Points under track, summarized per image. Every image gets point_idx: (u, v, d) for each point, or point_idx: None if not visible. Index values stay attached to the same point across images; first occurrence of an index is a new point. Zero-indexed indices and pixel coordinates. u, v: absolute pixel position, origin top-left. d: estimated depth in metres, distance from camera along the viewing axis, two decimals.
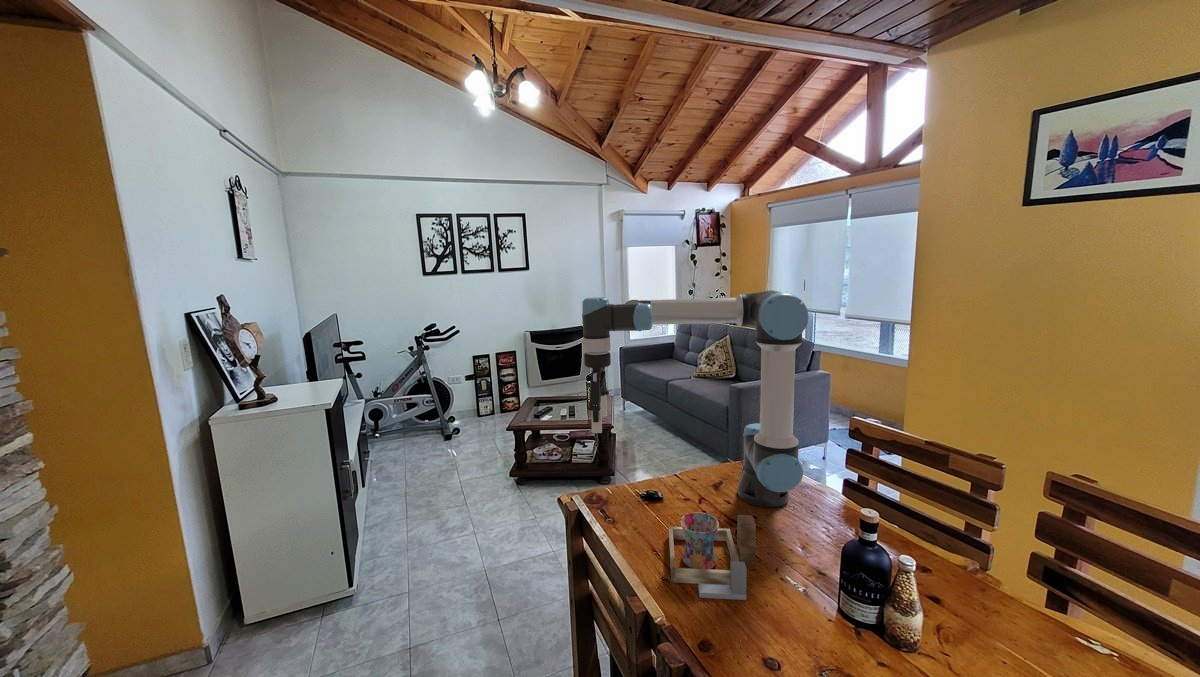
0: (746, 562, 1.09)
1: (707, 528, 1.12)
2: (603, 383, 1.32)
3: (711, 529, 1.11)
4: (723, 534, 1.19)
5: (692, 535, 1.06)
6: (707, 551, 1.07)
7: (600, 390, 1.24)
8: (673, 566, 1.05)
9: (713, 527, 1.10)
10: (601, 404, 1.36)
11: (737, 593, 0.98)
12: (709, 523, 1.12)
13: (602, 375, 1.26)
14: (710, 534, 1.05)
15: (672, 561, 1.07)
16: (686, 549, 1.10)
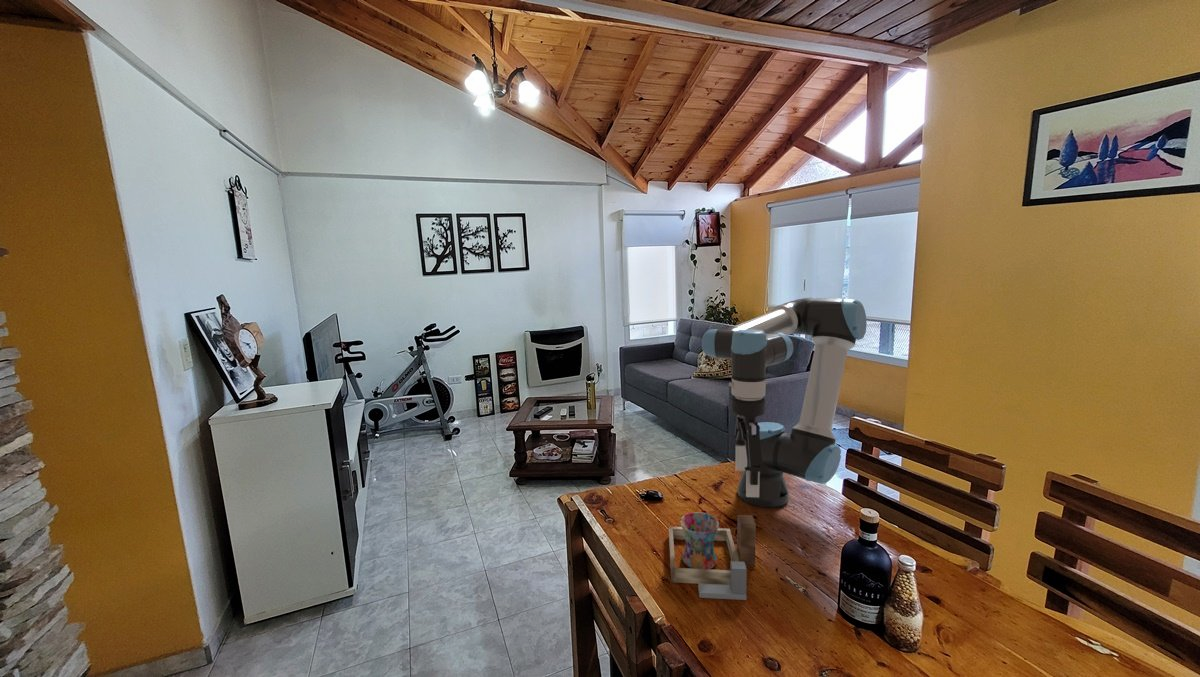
0: (746, 562, 1.09)
1: (707, 528, 1.12)
2: None
3: (711, 529, 1.11)
4: (723, 534, 1.19)
5: (692, 535, 1.06)
6: (707, 551, 1.07)
7: None
8: (673, 566, 1.05)
9: (713, 527, 1.10)
10: (741, 456, 1.13)
11: (737, 593, 0.98)
12: (709, 523, 1.12)
13: None
14: (710, 534, 1.05)
15: (672, 561, 1.07)
16: (686, 549, 1.10)
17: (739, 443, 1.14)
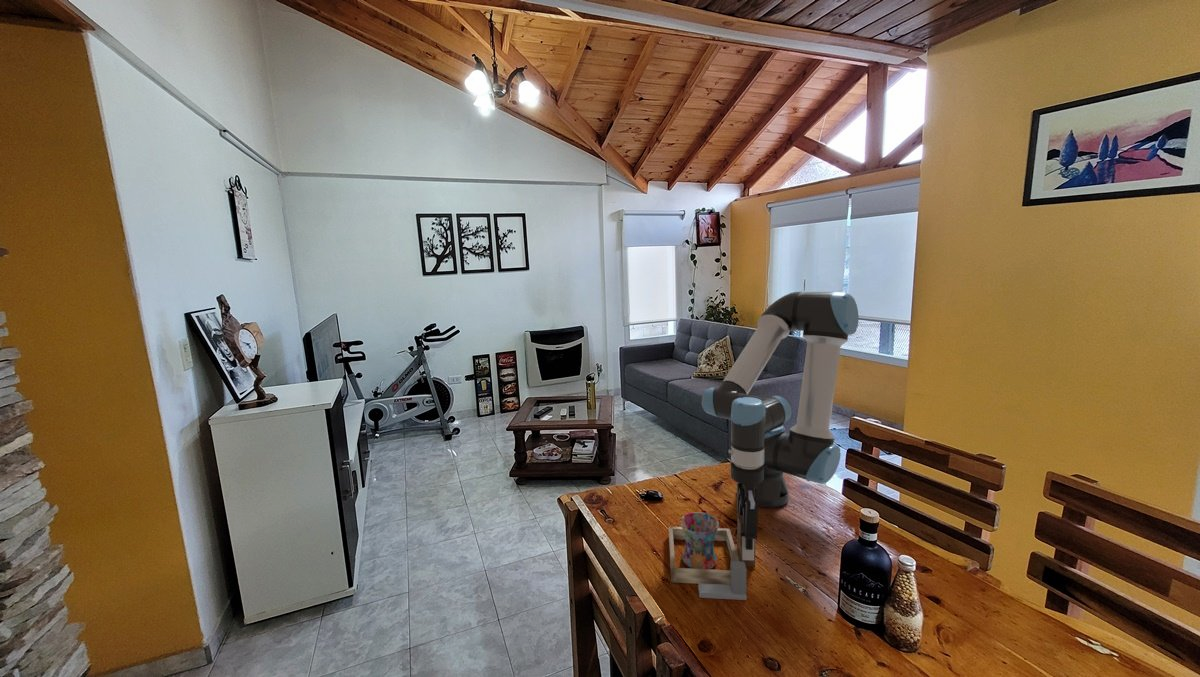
0: (746, 562, 1.09)
1: (707, 528, 1.12)
2: None
3: (711, 529, 1.11)
4: (723, 534, 1.19)
5: (692, 535, 1.06)
6: (707, 551, 1.07)
7: None
8: (673, 566, 1.05)
9: (713, 527, 1.10)
10: None
11: (737, 593, 0.98)
12: (709, 523, 1.12)
13: (754, 493, 1.06)
14: (710, 534, 1.05)
15: (672, 561, 1.07)
16: (686, 549, 1.10)
17: None
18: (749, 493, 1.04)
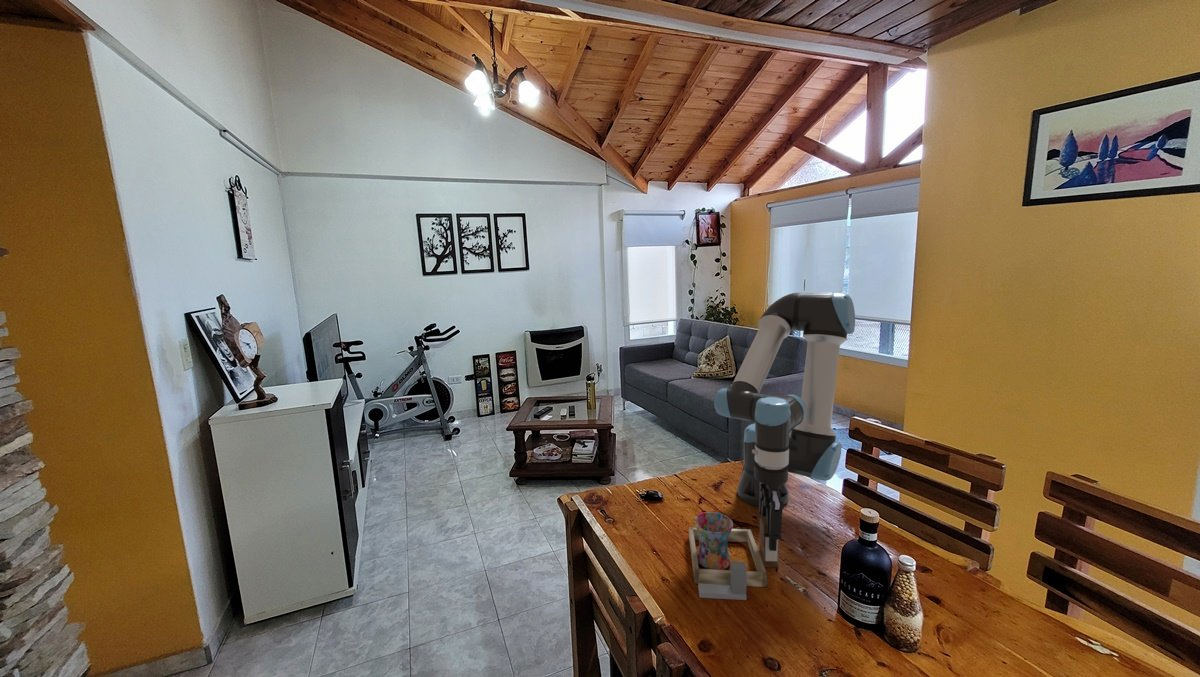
0: (769, 563, 1.08)
1: (720, 527, 1.12)
2: None
3: (724, 528, 1.11)
4: (744, 535, 1.18)
5: (707, 535, 1.06)
6: (722, 550, 1.07)
7: None
8: (696, 567, 1.04)
9: (727, 526, 1.10)
10: None
11: (737, 593, 0.98)
12: (722, 522, 1.12)
13: (778, 494, 1.05)
14: (726, 533, 1.05)
15: (695, 562, 1.06)
16: (700, 549, 1.09)
17: None
18: (773, 494, 1.03)
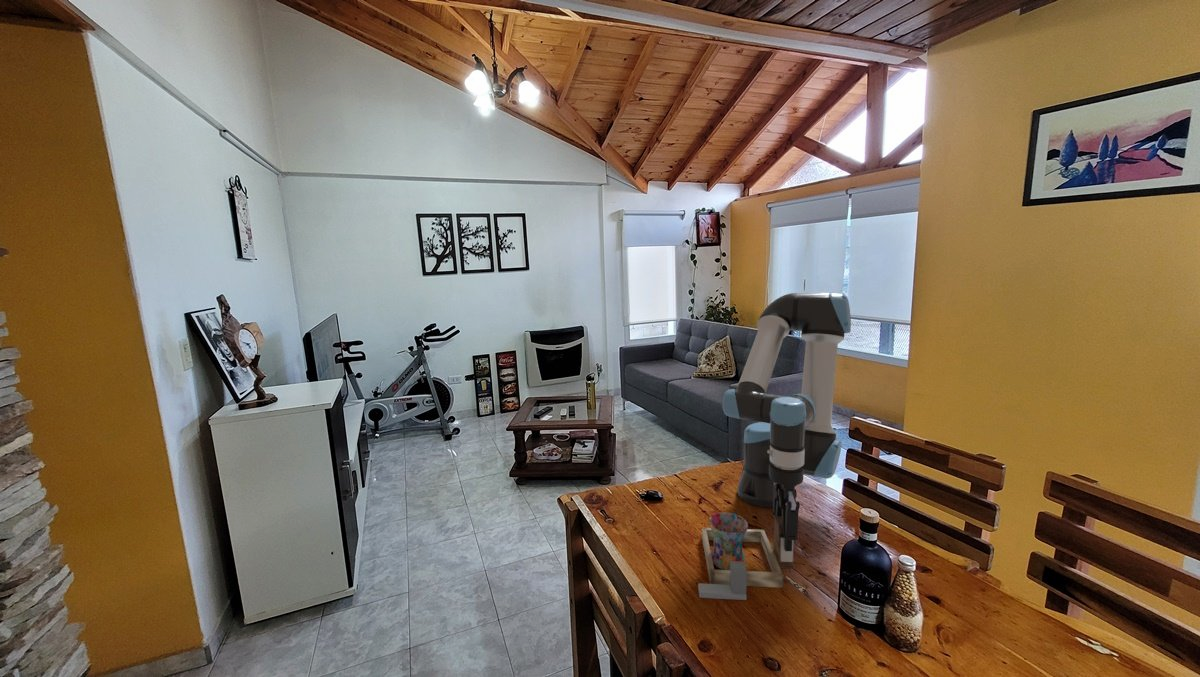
0: (784, 564, 1.07)
1: (734, 528, 1.11)
2: None
3: (739, 529, 1.10)
4: (757, 535, 1.18)
5: (722, 535, 1.05)
6: (737, 551, 1.07)
7: None
8: (712, 568, 1.04)
9: (741, 527, 1.10)
10: None
11: (737, 593, 0.98)
12: (736, 523, 1.11)
13: None
14: (741, 534, 1.05)
15: (710, 563, 1.06)
16: (715, 550, 1.09)
17: None
18: (789, 494, 1.03)
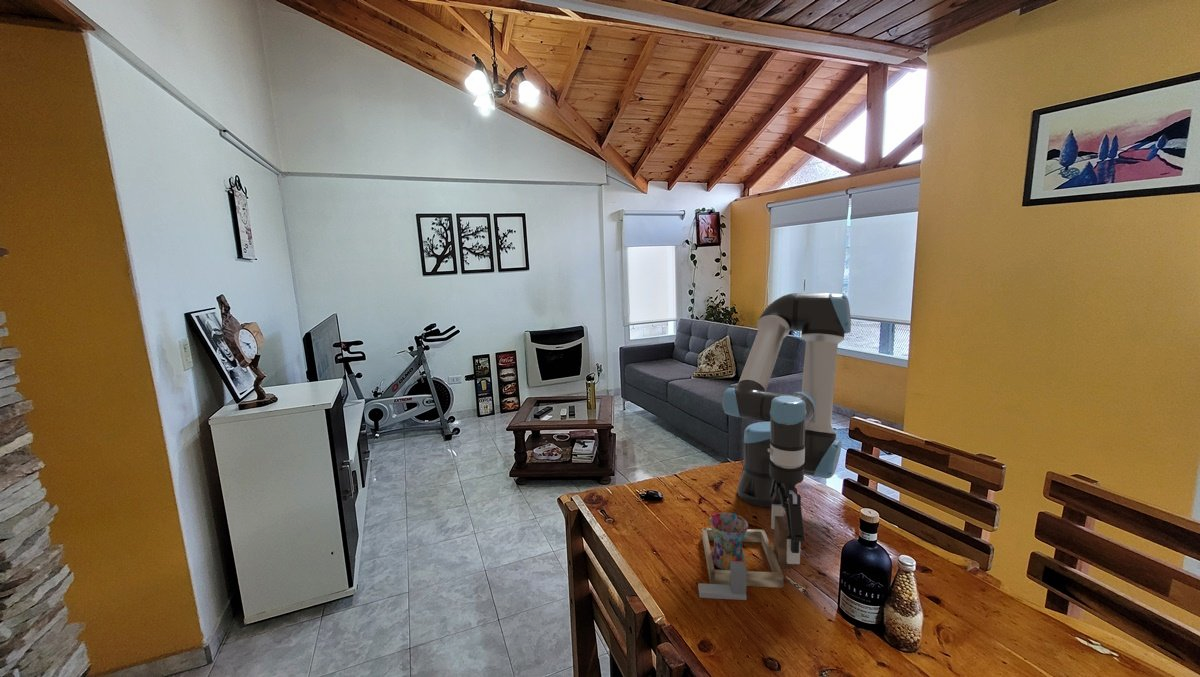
0: (784, 564, 1.07)
1: (735, 528, 1.11)
2: None
3: (739, 529, 1.10)
4: (757, 535, 1.18)
5: (723, 535, 1.05)
6: (737, 551, 1.07)
7: None
8: (712, 568, 1.04)
9: (741, 527, 1.10)
10: (777, 515, 1.15)
11: (737, 593, 0.98)
12: (736, 523, 1.11)
13: None
14: (741, 534, 1.05)
15: (710, 563, 1.06)
16: (715, 550, 1.09)
17: (775, 502, 1.15)
18: (790, 490, 1.03)
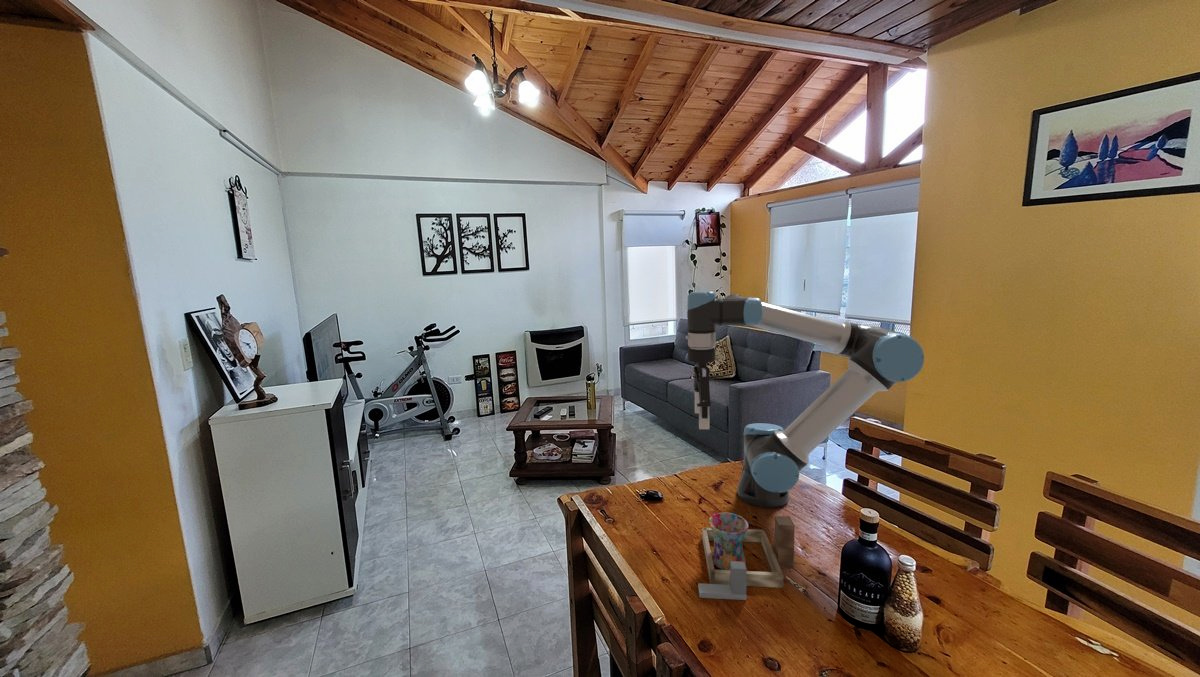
0: (784, 564, 1.07)
1: (735, 528, 1.11)
2: None
3: (739, 529, 1.10)
4: (757, 535, 1.18)
5: (723, 536, 1.05)
6: (737, 551, 1.07)
7: None
8: (712, 568, 1.04)
9: (741, 527, 1.10)
10: (698, 400, 1.34)
11: (737, 593, 0.98)
12: (736, 523, 1.11)
13: None
14: (741, 534, 1.05)
15: (710, 563, 1.06)
16: (715, 550, 1.09)
17: (697, 390, 1.34)
18: (702, 368, 1.22)
